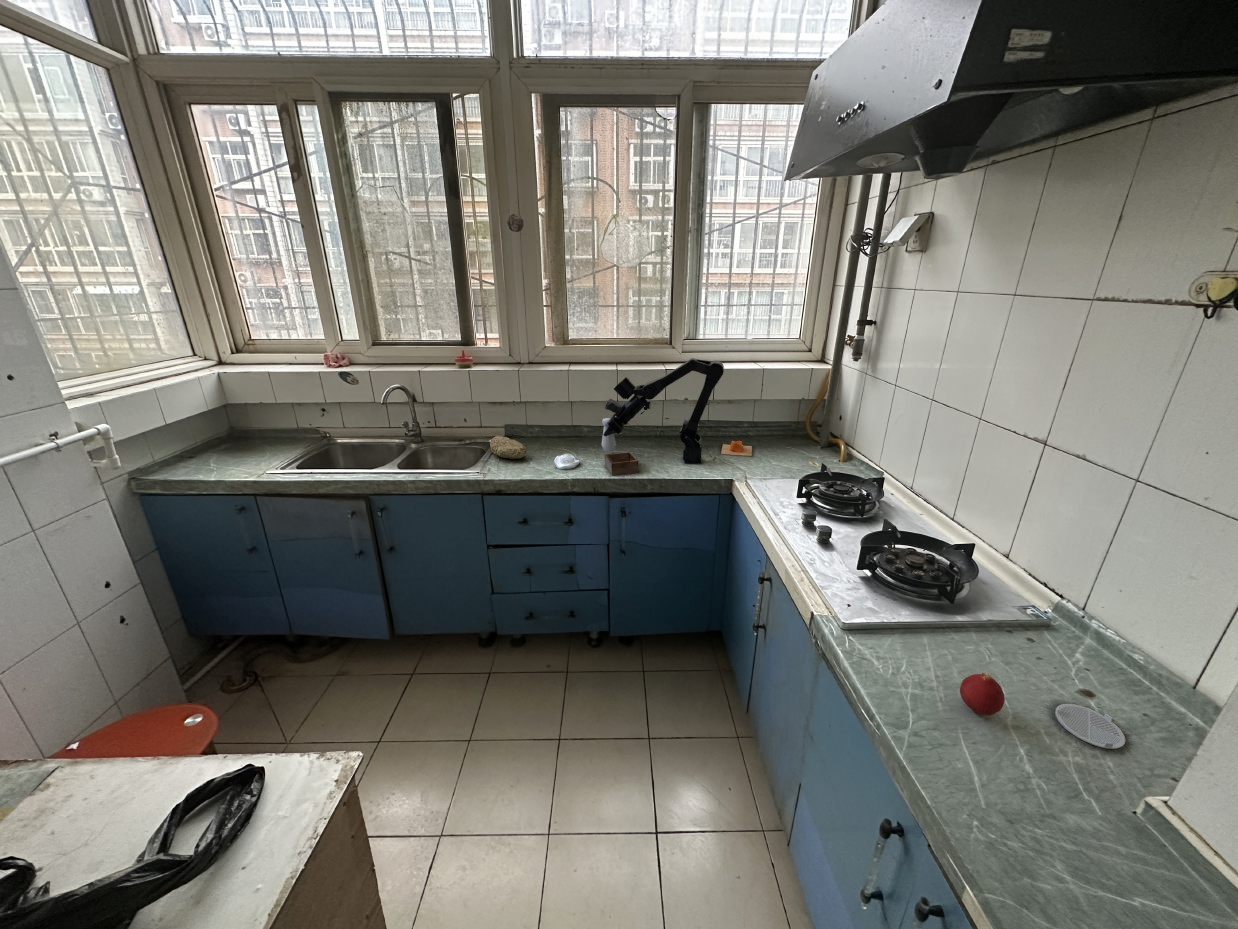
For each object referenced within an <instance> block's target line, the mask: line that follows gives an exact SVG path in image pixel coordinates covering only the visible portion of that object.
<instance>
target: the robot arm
mask: <svg viewBox="0 0 1238 929" xmlns="http://www.w3.org/2000/svg"><path fill="white" fill-rule="evenodd" d="M691 372H697V373H699V374H701V375H704V376H705V378H704V384H703V386H702V388H701V391H700V393H699V395H698V398H697V400H696V402H695V406H694V408H693V410H692V413H691V414H690V417H689V418H688V420H687V419H683V423H682V426H681V427H680V429H679V432H678V433H679V434H680V435H679V439H680V441H681V442H682V443H683V444H684V447H683V448H682V461H684V462H683V463H684V464H697V465H698V464H700V465H701V464H703V462H702V451H703V450H702V449H703V447H702V444H701V443H702V440H703V438H702V436H700V434H699V433H698V428H699V424H700V421H701V418H702V416H703V414H704V412H705V410H706V407H707V404H708V402H709V400H710V397H711V396H712V393H713V390H714V389H715V387H716V386H717V384H718V383H719V381H720V380H721V379H722V377H723V375H724V373H725V366H724V363H722V361H720V360H713V361H710V360H706V359H698V358H695V357H691V358H689V359H688V360H687V361H686V362H683V363H682V364H681V365H679V366H677V367H676V368H674V369H673V370H671V371H670V372H668V373H666V374H665V375H663V376H661V377H658V378H654V379H652V380H650V381H647V382H646V383H645V384H640V385H635V384H634V383H633V382H632V381H631V380H630V379H629V377H628V376H625V377H624V378H623V379H622V380H621V381H619V382H618V384H616V385H615V387H613V391H615V393H616V394H617V395H619V397H620V398H622V399H623V400H628V401H626V402H625V403H623V404H622V403H620V402H619V401H616V400H615V399H612V398H609V399H608V400H607V401H606V404H605V406H604V409H605V410H606V411H608V410H609V411H610V412H612V413H613V415H612V416H611V417H610V418H611V419H610V420H609V421H608V422H607V424H608V425H609V427H608V428H607V430H606V431H605V433H604V434H603V433H602V436H603V435H604V436H608V435H611V434H614V435H615V434H617V435H619V434H621V433H622V432H623V430H624V429H625V428H624V427H625V426H626V425H627V424H629V422H630V421H631V420H632V419H634V418H635V417H636V416H637V414H638V413H639V412H640V411H641V410H642V409H644V408H646V409H647V410H650V409H651V406H652V400H653V399H654V398H656V397H657V396H658V395H660V394H661V392H662V391H663V390H664V389H666V388H667V387H668V386H670V385H671V384H673V383H675V382H677V381H678V380H680V379H681V378H683V377H685V376H687V375H688V374H690V373H691Z"/></svg>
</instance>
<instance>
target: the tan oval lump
mask: <svg viewBox="0 0 1238 929" xmlns="http://www.w3.org/2000/svg"><path fill="white" fill-rule="evenodd" d="M489 446H490V450H491V453H493V454H494V455H496V456H498V457H500V458H503V459H510V460H511V459H512V460H515V459H517V460H518V459H519V460H520V459H522V458H524V457H525V456H526V454H527V448H526V447H525V445H524V444H522V443H521V442H520V441H517V440H516V439H513V438H512V439H511V438H509V437H507V436H503V435H497V436H494V437H493V438H491V439H490V443H489Z"/></svg>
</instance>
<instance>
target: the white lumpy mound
mask: <svg viewBox="0 0 1238 929" xmlns="http://www.w3.org/2000/svg"><path fill="white" fill-rule="evenodd" d="M580 462H581V461H580V460H579V459H576V458H575V456H574V455H573V454H571V453H564V454H561V455H556V457H555V458H554V465H555V467H556V468H557V469H558V470H570V469H574V468H575V467H577V466H578V465H579V464H580Z"/></svg>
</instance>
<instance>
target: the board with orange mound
mask: <svg viewBox="0 0 1238 929" xmlns="http://www.w3.org/2000/svg"><path fill="white" fill-rule="evenodd" d="M720 455H732V456H744V457H745V456H746V457H747V456H748V457H752V456H753V446H752V445H743V441H742V440H737V441H736V440H731V442H730V444H723V443H722V446H721V451H720Z"/></svg>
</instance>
